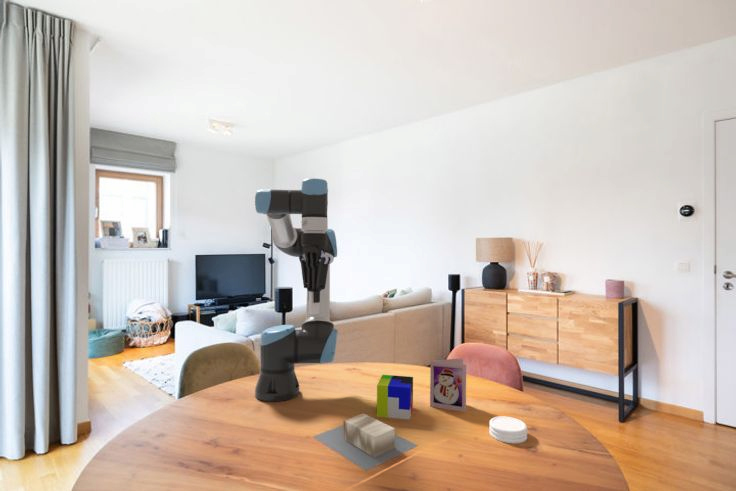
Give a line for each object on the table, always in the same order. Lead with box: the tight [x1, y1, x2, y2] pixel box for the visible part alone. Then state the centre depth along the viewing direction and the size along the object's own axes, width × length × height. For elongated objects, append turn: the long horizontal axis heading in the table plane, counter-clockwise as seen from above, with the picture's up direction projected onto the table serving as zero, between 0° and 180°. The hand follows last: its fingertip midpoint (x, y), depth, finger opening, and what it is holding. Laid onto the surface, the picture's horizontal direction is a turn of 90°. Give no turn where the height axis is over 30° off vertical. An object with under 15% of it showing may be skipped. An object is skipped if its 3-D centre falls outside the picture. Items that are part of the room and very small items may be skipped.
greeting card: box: [429, 358, 467, 413], centre depth 134 cm, size 11×7×15 cm, turn 68°
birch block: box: [343, 413, 396, 457], centre depth 108 cm, size 5×7×12 cm
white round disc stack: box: [488, 415, 528, 444], centre depth 114 cm, size 10×10×4 cm
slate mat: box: [312, 424, 419, 472], centre depth 109 cm, size 22×18×1 cm
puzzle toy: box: [376, 374, 414, 420], centre depth 128 cm, size 10×10×10 cm
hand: (314, 313), depth 119 cm, fingers closed
